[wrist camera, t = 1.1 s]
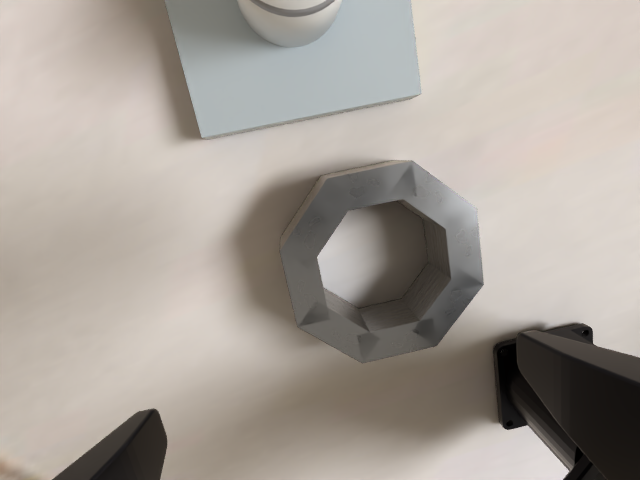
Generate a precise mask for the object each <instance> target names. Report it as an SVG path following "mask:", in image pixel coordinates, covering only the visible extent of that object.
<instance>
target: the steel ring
mask: <svg viewBox="0 0 640 480" xmlns="http://www.w3.org/2000/svg"><path fill="white" fill-rule="evenodd" d="M396 200H397V201H398V202H400V203H401V204H402V205H404V206H405V207H407V208H408V209H410V210H411V211H412V212H414V213H415V214H417V215H418V216H420V217H421V218H422V219H423V224H424V232H425V240H426V248H427V256H428V264H427V265H426V266H425V268H424V269H423V270H422V272H421V273H420V275H419V276H418V277H417V279H416V280H415V281H414V283H413V284H412V285H411V287H410V288H409V290H408V291H407V292H406V294H405V295H404V296H403V298H402V299H398V300H394V301H390V302H385V303H381V304H376V305H372V306H368V307H363V308H359V309H358V308H357V307H355V306H353V305H352V304H350V303H348V302H347V301H345V300H343V299H342V298H340V297H338V296H337V295H335V294H333V293H332V292H330V291H328V290H327V289H325V288H323V284H322V280H321V275H320V270H319V265H318V261H317V256H318V255H319V253H320V252H321V250H322V249H323V247H324V246H325V244H326V243H327V241H328V240H329V238H330V237H331V235H332V234H333V232H334V231H335V229H336V228H337V226H338V225H339V223H340V222H341V221H342V219H343V218H344V216H345V215H346V213H347V212H348V211H349V210H354V209H358V208H363V207H368V206H372V205H377V204H382V203H386V202H391V201H396ZM280 255H281V259H282V263H283V267H284V272H285V276H286V280H287V284H288V289H289V293H290V297H291V301H292V306H293V310H294V314H295V318H296V322H297V327H298V328H300V329H302V330H304V331H306V332H307V333H309V334H311V335H313V336H314V337H316V338H318V339H320V340H322V341H323V342H325V343H327V344H329V345H331V346H332V347H334V348H336V349H338V350H339V351H341V352H343V353H345V354H347V355H348V356H350V357H352V358H354V359H356V360H357V361H359V362H361V363H366V362H370V361H375V360H379V359H383V358H387V357H392V356H396V355H400V354H404V353H409V352H413V351H417V350H421V349H426V348H430V347H434V346H437V345H438V343H439V342H440V341H441V339H442V338H443V337H444V336H445V334H446V333H447V332H448V330H449V329H450V328H451V326H452V325H453V324H454V323H455V321H456V320H457V319H458V317H459V316H460V315H461V313H462V312H463V311H464V310H465V308H466V307H467V306H468V304H469V303H470V302H471V300H472V299H473V298H474V296H475V295H476V294H477V293H478V291H479V290H480V289H481V287H482V286H483V285H484V283H483V272H482V260H481V249H480V237H479V226H478V215H477V208H476V207H475V206H473V205H472V204H471V203H469V202H468V201H467V200H465V199H464V198H463V197H461V196H460V195H458V194H457V193H456V192H454V191H453V190H452V189H450V188H449V187H448V186H446V185H445V184H443V183H442V182H441V181H439V180H438V179H437V178H435V177H434V176H433V175H431V174H430V173H429V172H427V171H426V170H424V169H423V168H422V167H420V166H419V165H418V164H416V163H415V162H414V161H403V160H393V161H388V162H383V163H378V164H373V165H368V166H364V167H359V168H354V169H349V170H344V171H340V172H335V173H330V174H325V175H321V176H320V178H319V179H318V181H317V182H316V184H315V185H314V187H313V188H312V190H311V191H310V193H309V194H308V196H307V197H306V199H305V200H304V202H303V204H302V205H301V207H300V208H299V210H298V211H297V213H296V214H295V216H294V217H293V219H292V220H291V222H290V223H289V225H288V227H287V228H286V230H285V231H284V233H283V234H282V236H281V237H280Z"/></svg>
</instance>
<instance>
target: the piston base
mask: <svg viewBox="0 0 640 480" xmlns="http://www.w3.org/2000/svg"><path fill="white" fill-rule="evenodd" d="M164 1H165V4H166V8H167V12H168V16H169V19H170V23H171V27H172V30H173V34H174V38H175V41H176V45H177V49H178V52H179V56H180V60H181V63H182V67H183V71H184V75H185V78H186V82H187V86H188V89H189V93H190V97H191V100H192V104H193V108H194V111H195V115H196V119H197V122H198V126H199V130H200V133H201V137H202V138H205V139H213V138H218V137H223V136H228V135H233V134H238V133H243V132H248V131H253V130H258V129H263V128H268V127H273V126H278V125H283V124H288V123H293V122H298V121H303V120H308V119H313V118H318V117H323V116H328V115H333V114H338V113H343V112H348V111H353V110H358V109H363V108H368V107H373V106H378V105H383V104H388V103H393V102H398V101H403V100H408V99H412V98H414V97H416V96H418V95H420V94H422V92H421V83H420V75H419V66H418V58H417V49H416V41H415V32H414V24H413V15H412V7H411V0H164Z"/></svg>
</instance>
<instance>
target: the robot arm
mask: <svg viewBox="0 0 640 480" xmlns="http://www.w3.org/2000/svg"><path fill="white" fill-rule="evenodd" d="M582 332H583V333H582ZM503 349H504V351H503V352H502V353H501V351H502V350H503ZM493 353H494V365H495V377H496V388H497V400H498V412H499V422H500V424H501V425H502V426H503V427H504V428H505V429H507V430H510V429H514V428H518V427H522V426H526V425H528V426H529V427H530V428H531V429H532V430H533V431H534V433H535V434H536V435H537V436H538V437H539V438H540V439H541V440H542V441H543V442H544V444H545V445H546V446H547V447H548V448H549V449H550V450H551V451H552V452H553V454H554V455H555V456H556V457H557V458H558V459H559V460H560V461H561V462H562V463H563V465H564V466H565V467H566V468H567V469H568V470H569V473H568V474H567V475H566V476H565V478H564V479H563V480H640V358H639V357H636V356H632V355H628V354H624V353H620V352H616V351H613V350H609V349H605V348H601V347H597V346H596V345H594V344H593V331H592V328H591V327H589V326H587V325H586V324H583V323H582V324H576V325H572V326H568V327H562V328H557V329H553V330H549V331H545V332H540V331H536V330H532V331H527V332H522V333H519V334H518V335H517V338H516V339H513V340H509V341H505V342H500V343H498V344H496V345H495V347H494V350H493ZM507 421H508V422H507ZM166 449H167V436H166V433H165V429H164V426H163V423H162V420H161V417H160V414H159V412H158V411H157V410H156V409H148V410H143V411H139V412H137V413H135V414H134V415H133V416H132V417H130V418H129V419H128V420H127V421H125V422H124V423H123V424H122V425H120V426H119V427H118V428H117V429H115V430H114V431H113V432H112V433H110V434H109V435H108V436H106V437H105V438H104V439H103V440H101V441H100V442H99V443H98V444H96V445H95V446H94V447H93V448H91V449H90V450H89V451H88V452H86V453H85V454H84V455H83V456H81V457H80V458H79V459H78V460H76V461H75V462H74V463H72V464H71V465H70V466H69V467H67V468H66V469H65V470H64V471H62V472H61V473H60V474H59V475H57V476H56V477H55V478H54V479H52V480H160V477H161V473H162V468H163V463H164V459H165V454H166Z"/></svg>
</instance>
